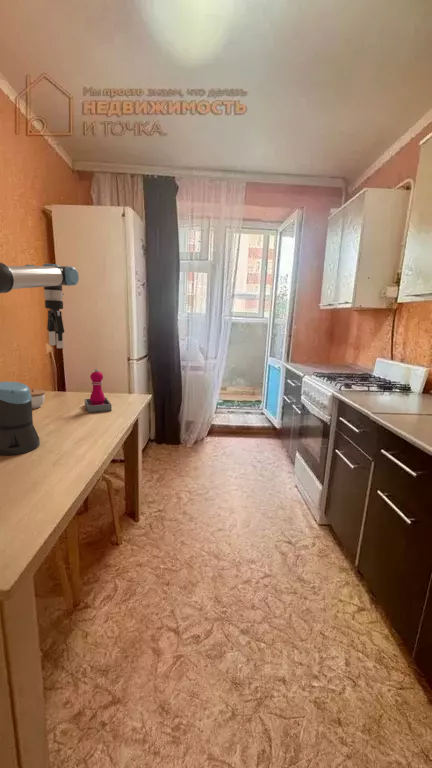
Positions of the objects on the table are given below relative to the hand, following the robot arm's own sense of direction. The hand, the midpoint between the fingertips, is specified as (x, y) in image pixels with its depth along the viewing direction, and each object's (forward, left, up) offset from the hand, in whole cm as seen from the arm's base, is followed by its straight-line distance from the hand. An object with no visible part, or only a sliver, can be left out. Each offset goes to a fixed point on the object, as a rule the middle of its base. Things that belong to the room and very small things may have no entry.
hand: (56, 346), depth 160 cm
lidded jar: (+1, +18, -32) cm, 37 cm away
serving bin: (+14, -11, -32) cm, 37 cm away
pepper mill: (+14, -12, -32) cm, 36 cm away
